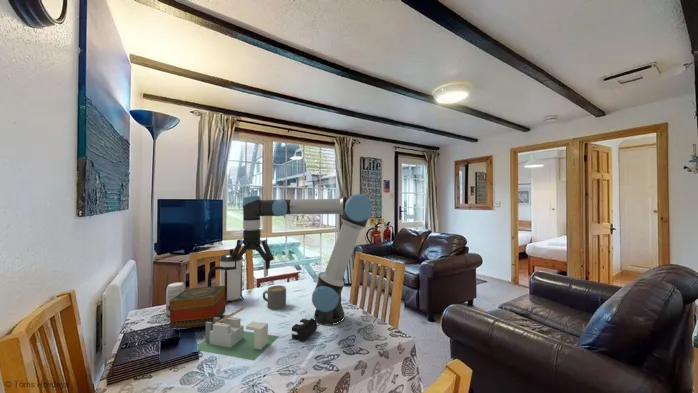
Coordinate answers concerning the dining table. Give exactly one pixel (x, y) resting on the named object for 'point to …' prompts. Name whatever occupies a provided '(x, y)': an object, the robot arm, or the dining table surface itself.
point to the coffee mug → (275, 297)
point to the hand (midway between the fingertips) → (252, 275)
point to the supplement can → (173, 293)
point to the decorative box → (197, 307)
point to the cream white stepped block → (259, 334)
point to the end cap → (304, 329)
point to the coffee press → (229, 277)
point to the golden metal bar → (228, 316)
